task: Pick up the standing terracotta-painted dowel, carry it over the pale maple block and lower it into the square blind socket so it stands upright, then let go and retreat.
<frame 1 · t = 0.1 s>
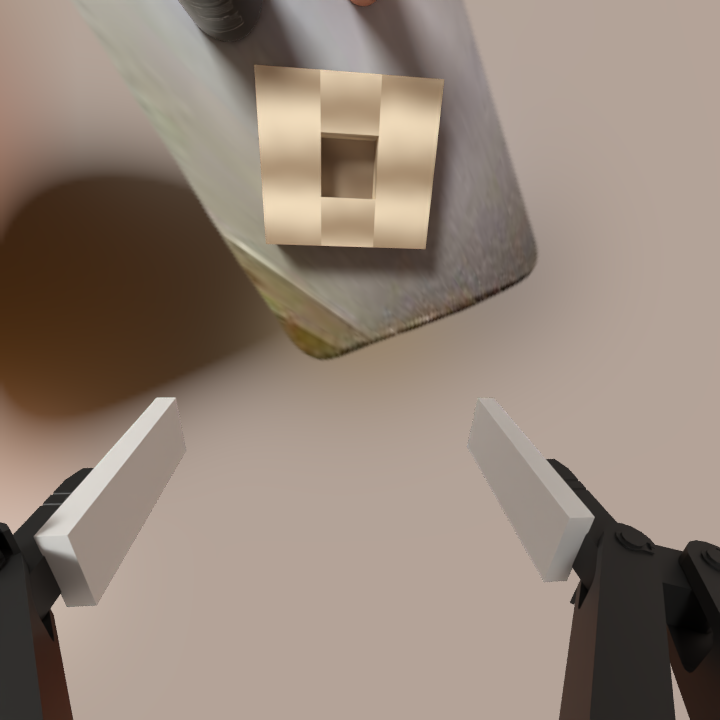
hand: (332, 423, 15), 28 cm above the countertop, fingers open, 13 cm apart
bore block: (346, 171, 36), on the countertop
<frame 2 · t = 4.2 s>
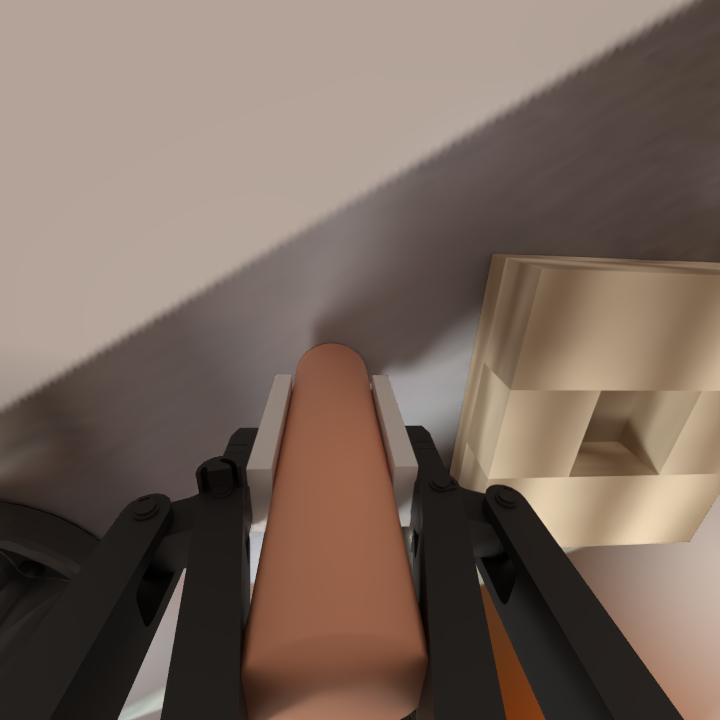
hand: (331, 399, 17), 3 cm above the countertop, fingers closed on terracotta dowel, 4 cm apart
terracotta dowel: (331, 376, 20), on the countertop, touching gripper
bore block: (574, 391, 21), on the countertop
supplement bottle: (357, 523, 25), on the countertop
when the fingers open (6 cm above the countertop, at t = 8.6 s): terracotta dowel drops 1 cm, resting on bore block.
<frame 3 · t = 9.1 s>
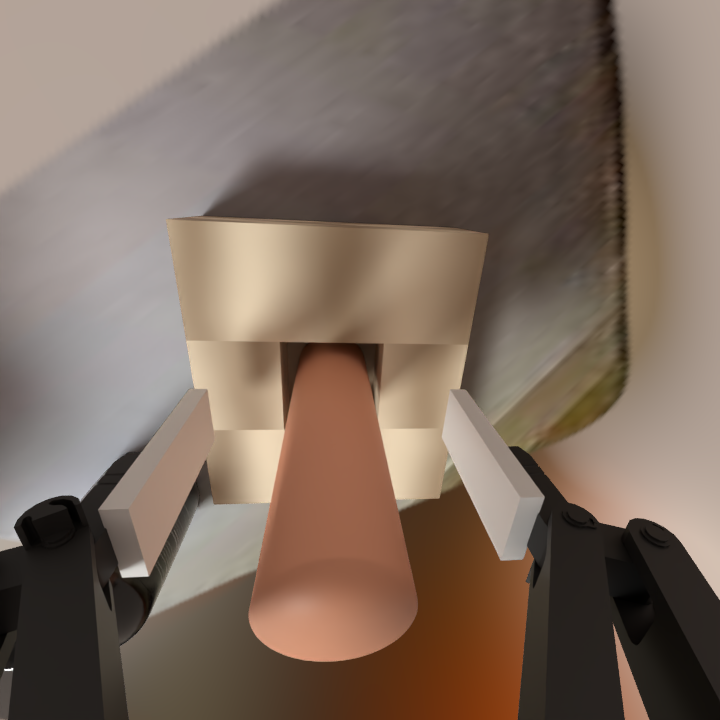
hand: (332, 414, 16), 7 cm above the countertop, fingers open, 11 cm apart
terracotta dowel: (332, 365, 21), point 2 cm above the countertop, touching bore block
bore block: (331, 354, 22), on the countertop
supplement bottle: (154, 486, 26), on the countertop
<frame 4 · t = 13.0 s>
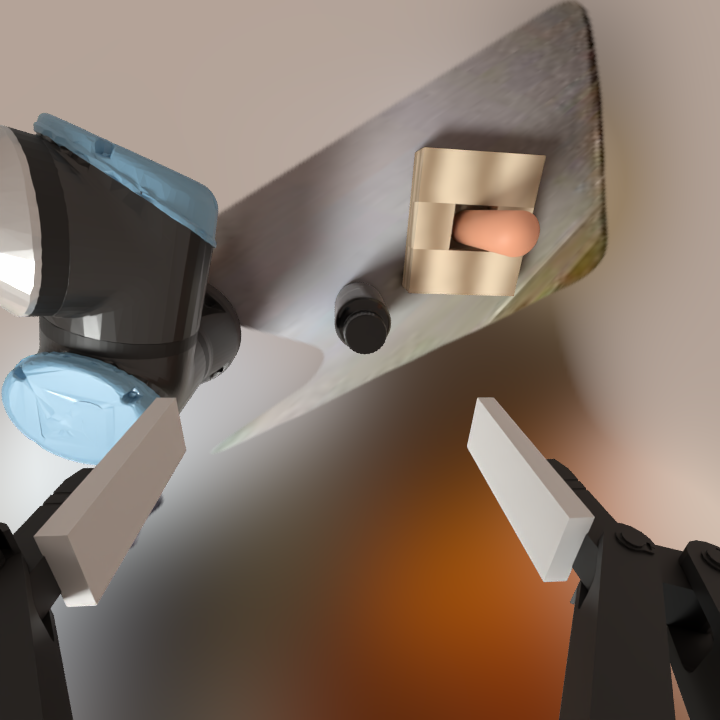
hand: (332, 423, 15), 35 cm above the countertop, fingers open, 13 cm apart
terracotta dowel: (464, 227, 44), point 2 cm above the countertop, touching bore block
bore block: (460, 226, 46), on the countertop
supplement bottle: (358, 304, 49), on the countertop
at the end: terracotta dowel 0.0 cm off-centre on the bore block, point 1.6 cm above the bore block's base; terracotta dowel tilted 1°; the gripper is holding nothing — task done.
